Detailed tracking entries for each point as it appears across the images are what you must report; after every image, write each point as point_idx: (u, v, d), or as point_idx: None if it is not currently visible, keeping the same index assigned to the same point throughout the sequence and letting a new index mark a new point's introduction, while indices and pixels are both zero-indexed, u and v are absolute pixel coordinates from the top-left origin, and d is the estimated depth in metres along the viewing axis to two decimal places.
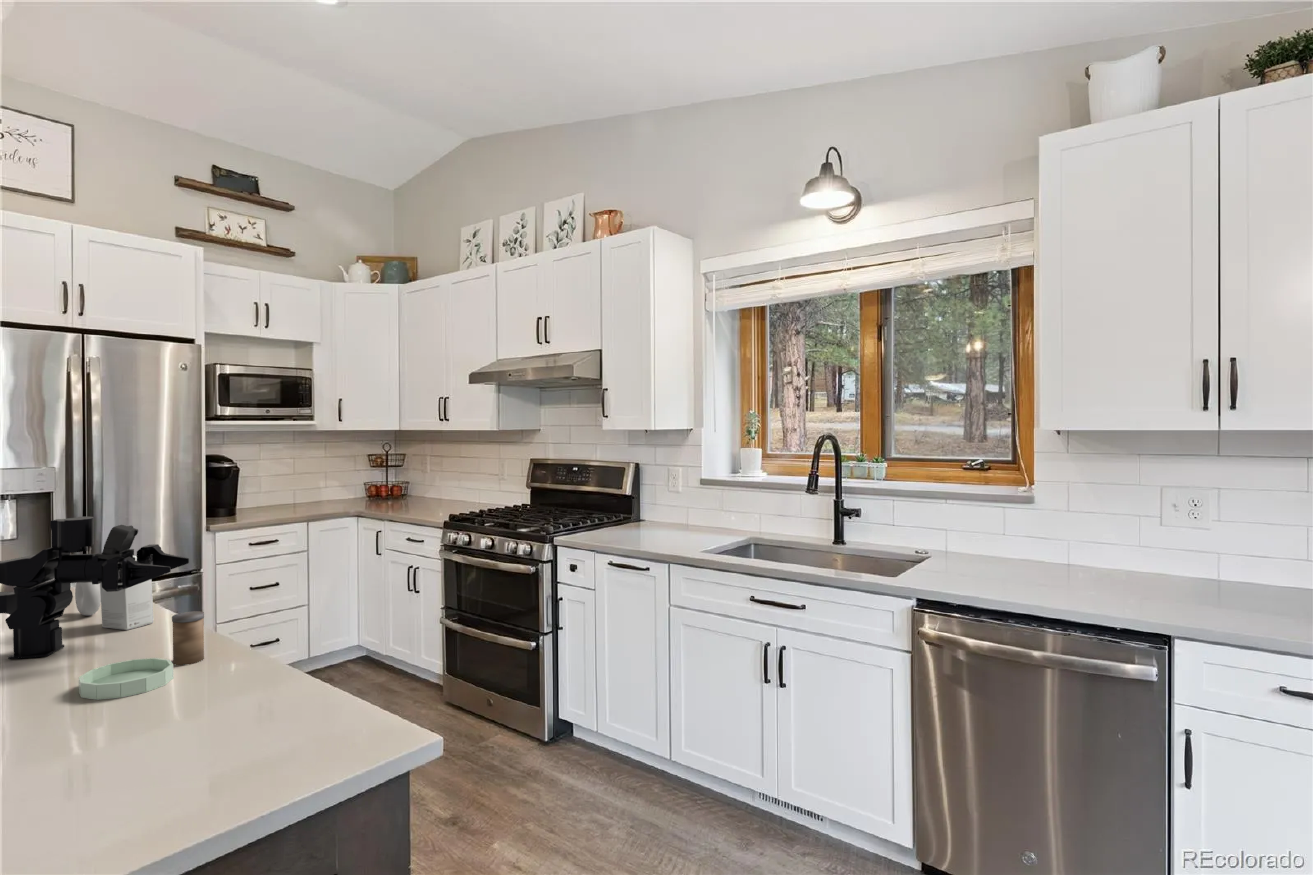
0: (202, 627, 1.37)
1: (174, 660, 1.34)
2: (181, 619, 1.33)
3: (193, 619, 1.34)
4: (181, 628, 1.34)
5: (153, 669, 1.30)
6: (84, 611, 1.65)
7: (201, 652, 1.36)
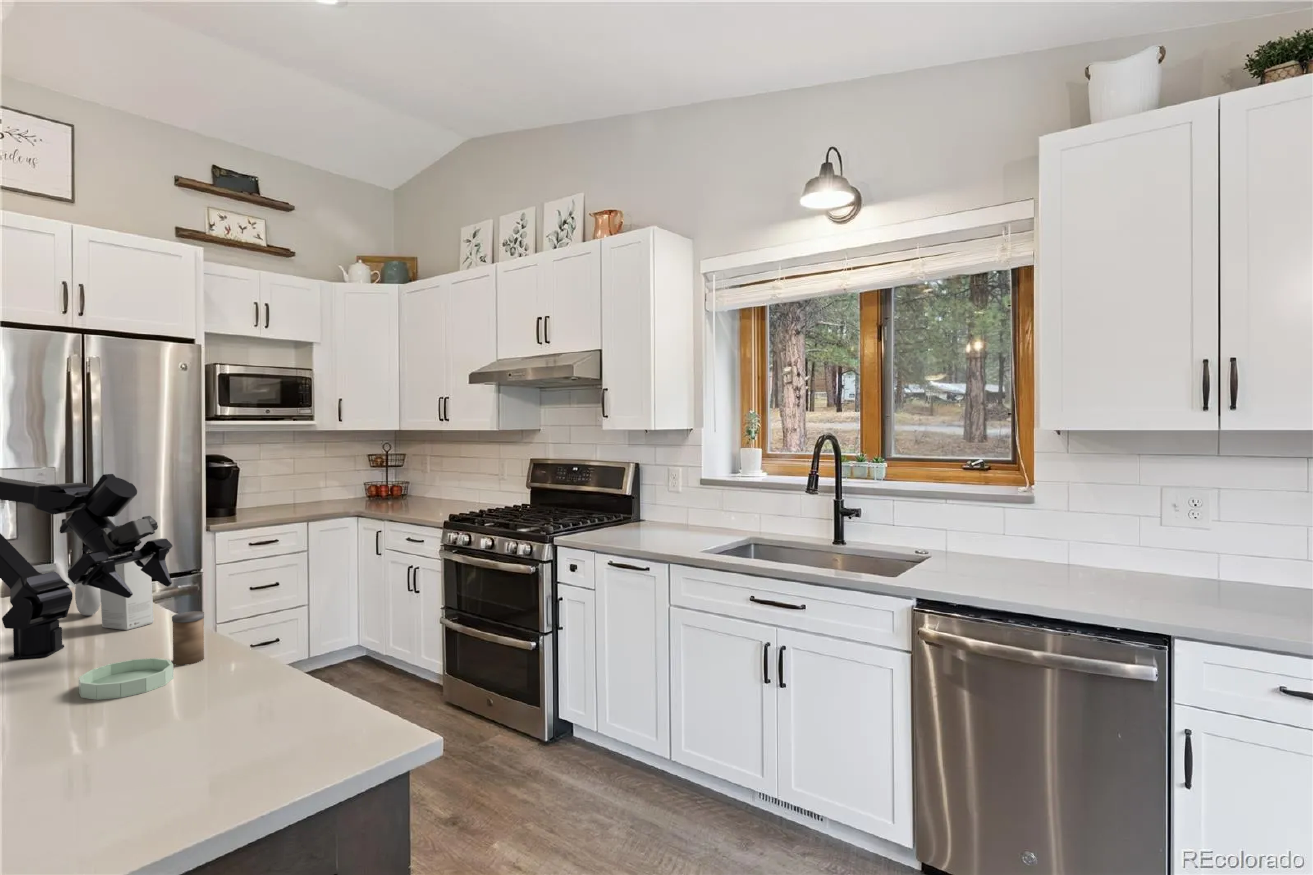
0: (202, 627, 1.37)
1: (174, 660, 1.34)
2: (181, 619, 1.33)
3: (193, 619, 1.34)
4: (181, 628, 1.34)
5: (153, 669, 1.30)
6: (84, 611, 1.65)
7: (201, 652, 1.36)
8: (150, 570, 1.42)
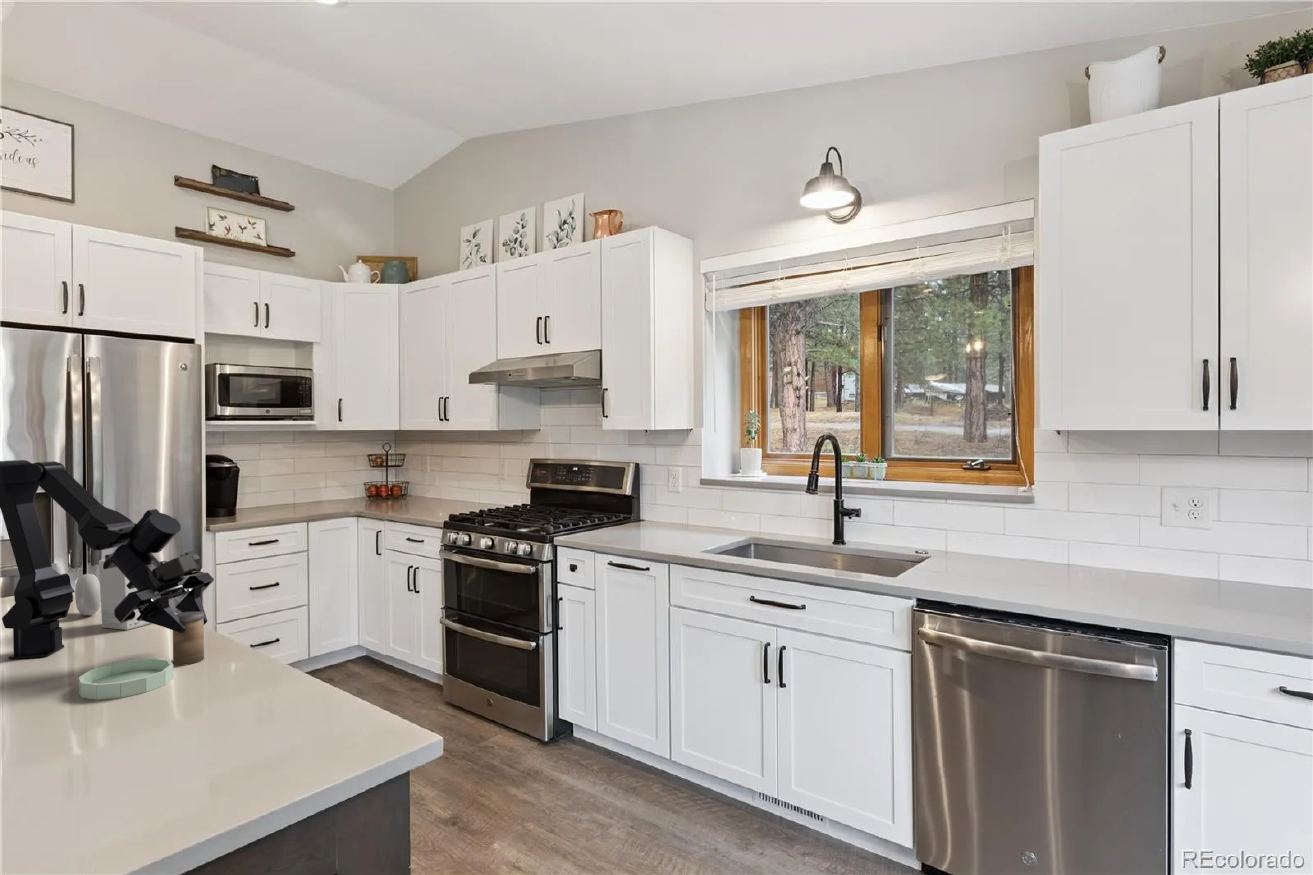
0: (202, 627, 1.37)
1: (174, 660, 1.34)
2: (181, 619, 1.33)
3: (193, 619, 1.34)
4: None
5: (153, 669, 1.30)
6: (84, 611, 1.65)
7: (201, 652, 1.36)
8: (185, 608, 1.39)
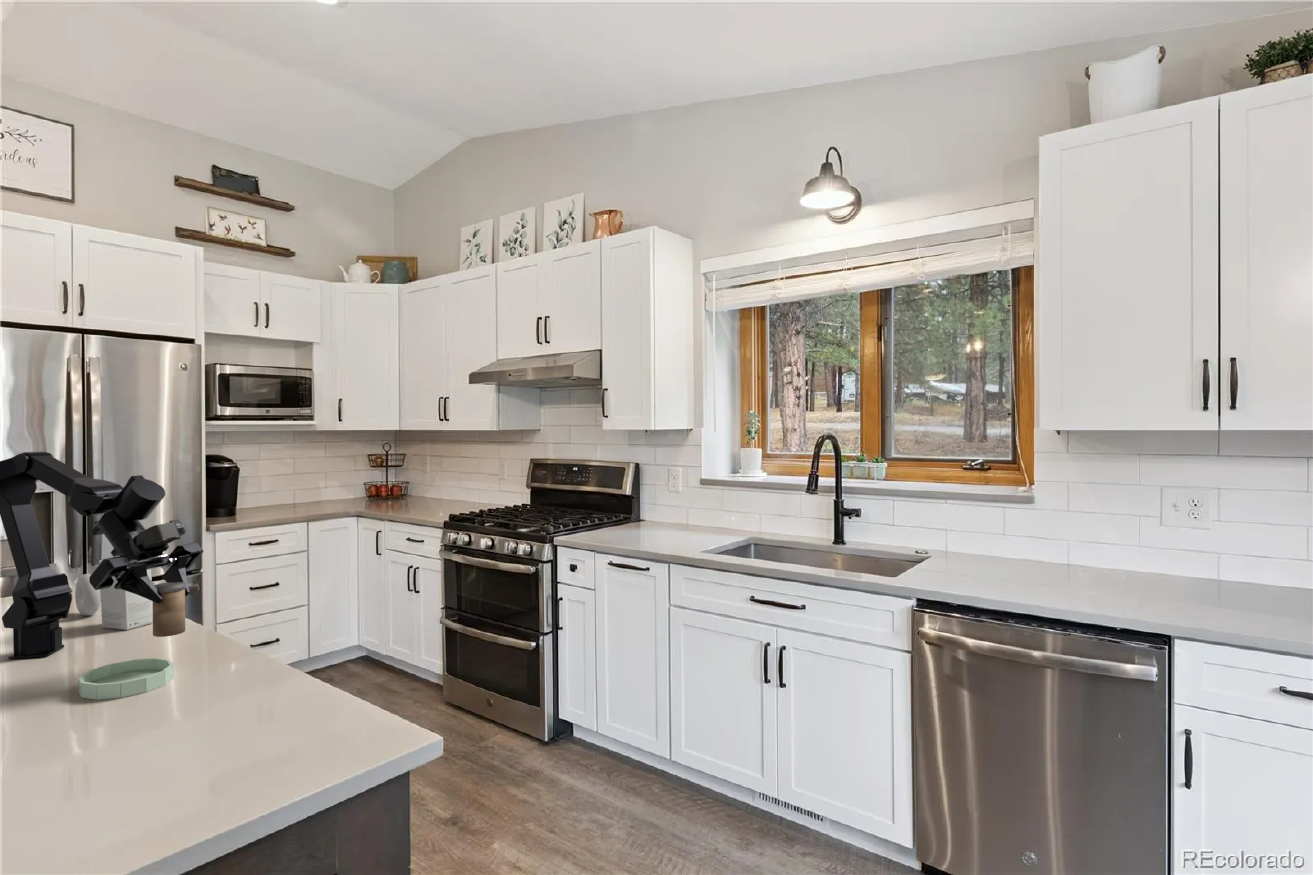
0: (182, 598, 1.31)
1: (153, 631, 1.29)
2: (159, 588, 1.29)
3: (171, 589, 1.29)
4: None
5: (153, 669, 1.30)
6: (84, 611, 1.65)
7: (181, 624, 1.31)
8: (170, 578, 1.35)
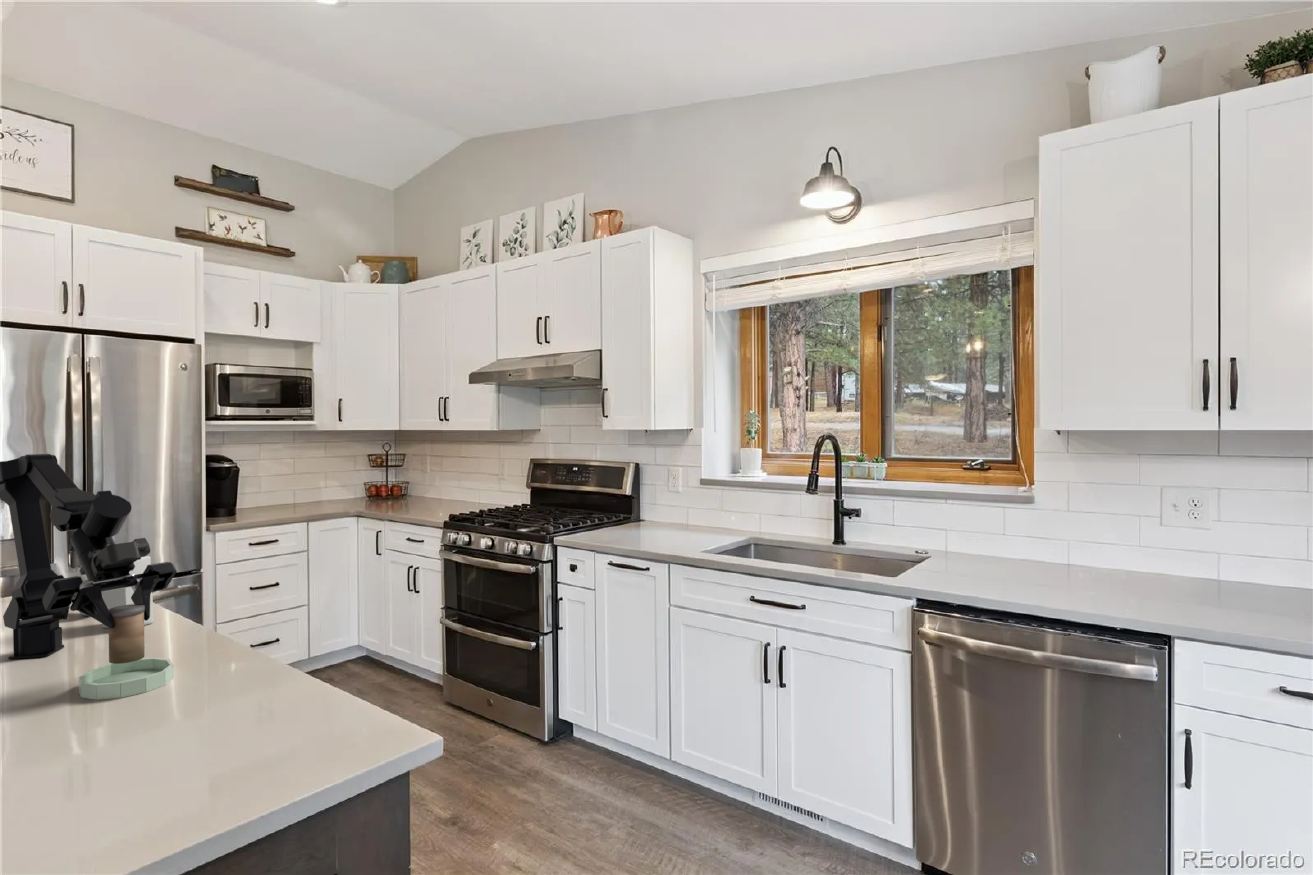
0: (138, 623, 1.23)
1: (109, 657, 1.22)
2: (111, 612, 1.21)
3: (124, 614, 1.21)
4: None
5: (153, 669, 1.30)
6: None
7: (136, 651, 1.23)
8: (136, 599, 1.28)
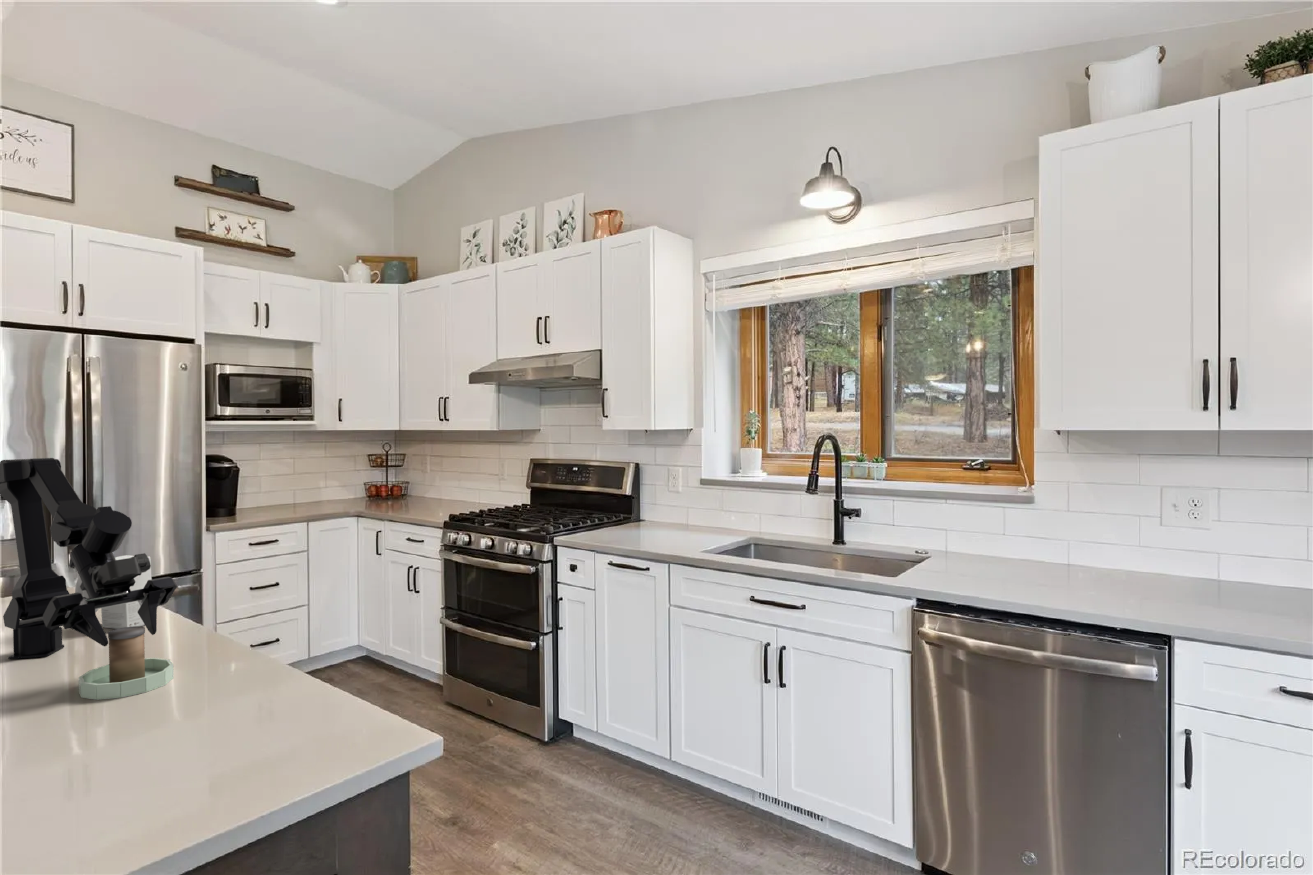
0: (139, 646, 1.23)
1: (109, 679, 1.22)
2: (112, 635, 1.21)
3: (124, 636, 1.21)
4: (112, 646, 1.21)
5: (153, 669, 1.30)
6: None
7: (136, 673, 1.23)
8: (142, 614, 1.29)
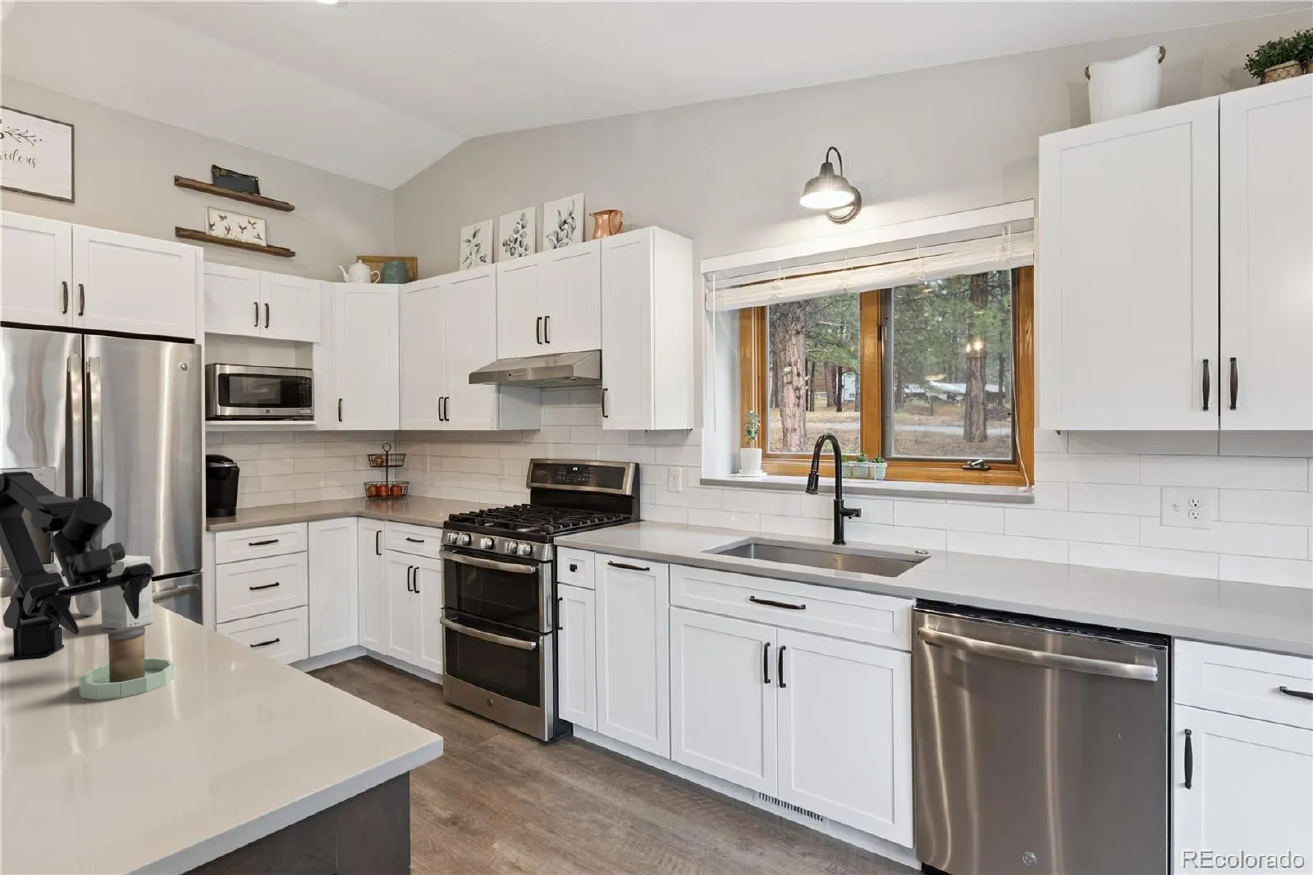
0: (139, 646, 1.23)
1: (109, 679, 1.22)
2: (112, 635, 1.21)
3: (124, 637, 1.21)
4: (112, 646, 1.21)
5: (153, 669, 1.30)
6: (84, 611, 1.65)
7: (136, 673, 1.23)
8: (127, 598, 1.34)
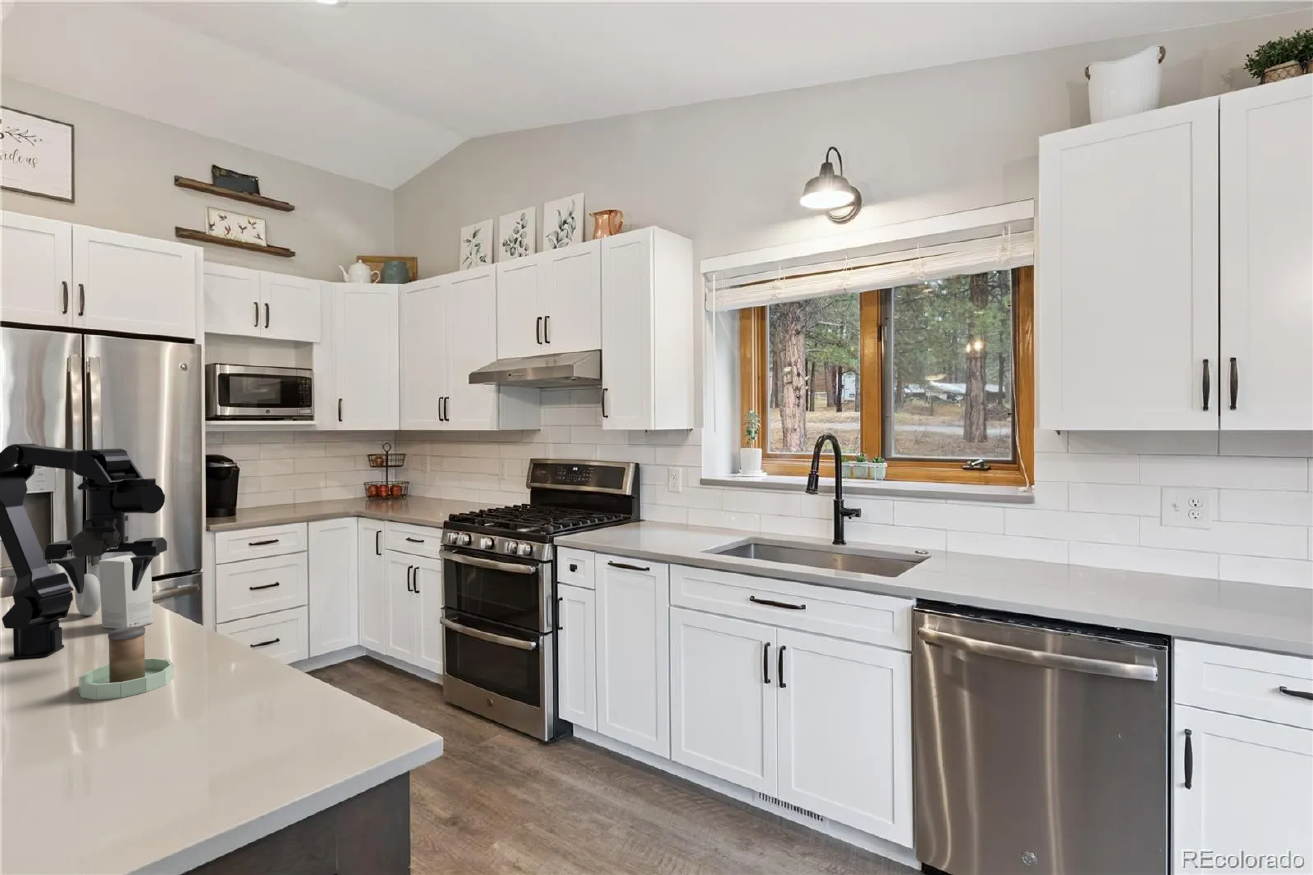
0: (139, 646, 1.23)
1: (109, 679, 1.22)
2: (112, 635, 1.21)
3: (124, 637, 1.21)
4: (112, 646, 1.21)
5: (153, 669, 1.30)
6: (84, 611, 1.65)
7: (136, 673, 1.23)
8: None
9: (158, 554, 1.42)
